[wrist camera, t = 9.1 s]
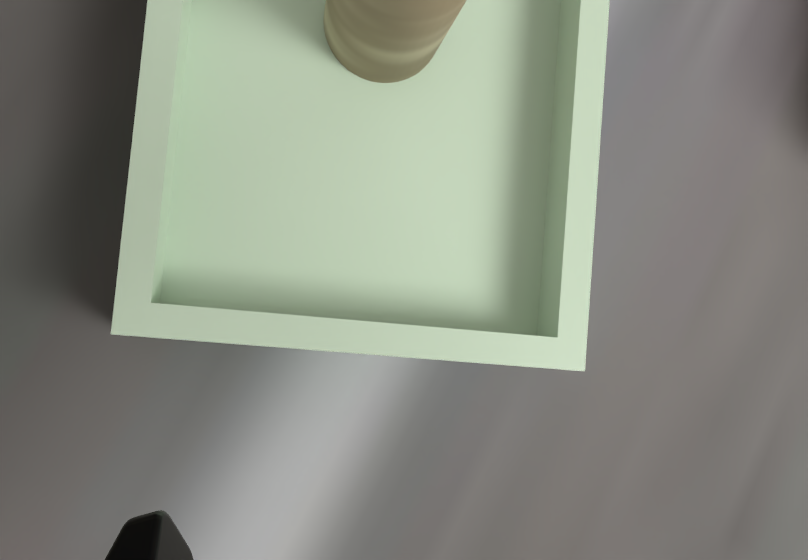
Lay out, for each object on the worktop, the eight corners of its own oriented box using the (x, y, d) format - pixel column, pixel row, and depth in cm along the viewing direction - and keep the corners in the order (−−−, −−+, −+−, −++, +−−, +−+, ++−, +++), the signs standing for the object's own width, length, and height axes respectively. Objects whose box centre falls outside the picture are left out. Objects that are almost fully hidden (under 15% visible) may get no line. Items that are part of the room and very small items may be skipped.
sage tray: (554, 366, 21) (584, 371, 19) (126, 332, 19) (111, 334, 17) (590, -158, 22) (623, -207, 20) (189, -242, 20) (181, -305, 18)
